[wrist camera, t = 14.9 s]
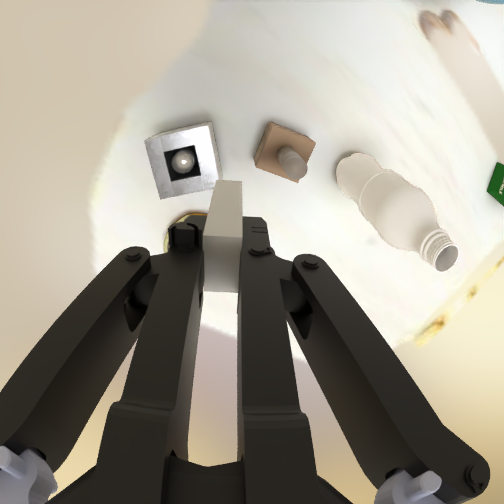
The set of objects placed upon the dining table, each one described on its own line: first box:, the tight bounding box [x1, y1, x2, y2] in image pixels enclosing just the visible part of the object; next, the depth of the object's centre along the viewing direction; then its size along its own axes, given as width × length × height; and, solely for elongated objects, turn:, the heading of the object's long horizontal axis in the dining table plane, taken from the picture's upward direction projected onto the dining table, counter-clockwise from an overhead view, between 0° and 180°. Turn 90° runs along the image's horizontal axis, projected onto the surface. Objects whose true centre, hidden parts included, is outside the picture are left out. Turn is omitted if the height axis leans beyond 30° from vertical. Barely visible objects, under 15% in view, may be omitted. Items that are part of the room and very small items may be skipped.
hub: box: [172, 145, 200, 173], centre depth 37 cm, size 6×6×6 cm
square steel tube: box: [145, 121, 222, 199], centre depth 36 cm, size 8×8×5 cm
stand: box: [254, 121, 316, 183], centre depth 35 cm, size 6×6×12 cm
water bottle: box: [336, 153, 459, 273], centre depth 32 cm, size 7×7×25 cm
